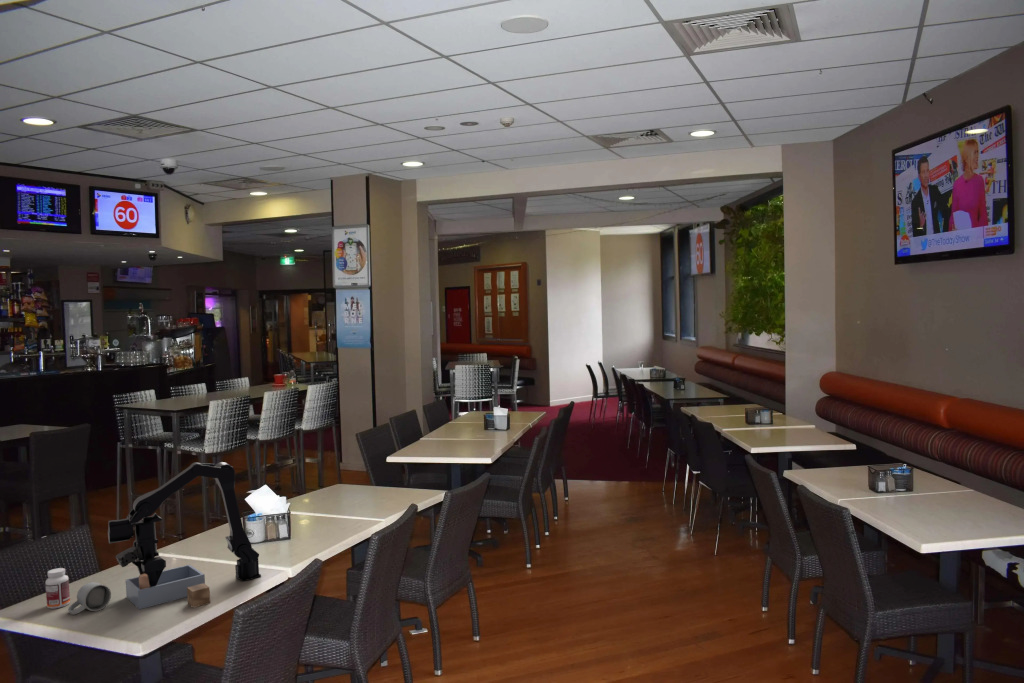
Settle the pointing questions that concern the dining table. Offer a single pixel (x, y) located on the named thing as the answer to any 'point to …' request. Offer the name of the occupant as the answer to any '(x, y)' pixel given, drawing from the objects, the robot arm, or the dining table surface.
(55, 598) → the pill bottle
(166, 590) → the tote
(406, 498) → the dining table surface
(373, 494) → the dining table surface
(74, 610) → the ceramic mug
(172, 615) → the dining table surface
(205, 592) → the walnut cube
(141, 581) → the terracotta cylinder
